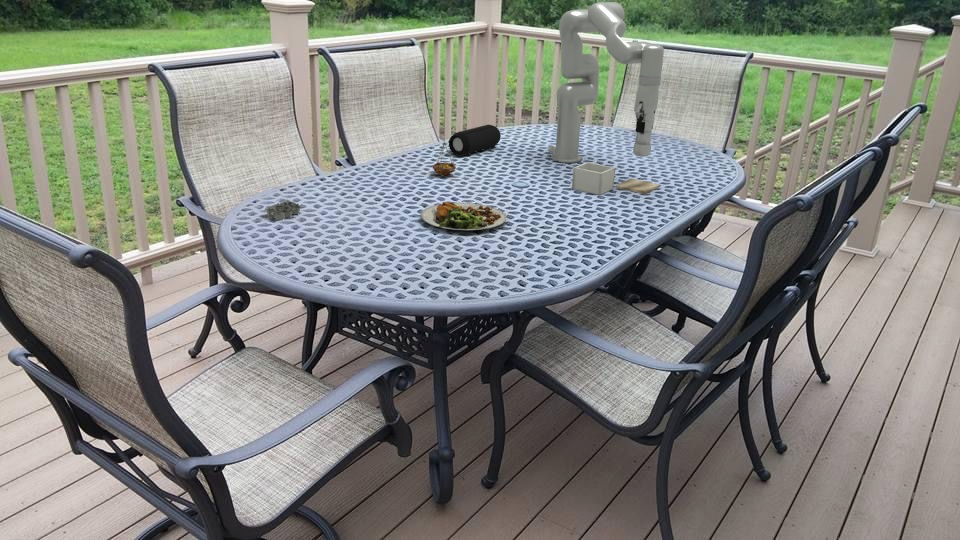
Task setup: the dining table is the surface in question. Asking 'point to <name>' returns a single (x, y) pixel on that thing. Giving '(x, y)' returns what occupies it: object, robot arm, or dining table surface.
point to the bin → (593, 178)
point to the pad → (637, 186)
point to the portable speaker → (474, 139)
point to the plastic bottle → (644, 137)
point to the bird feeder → (444, 167)
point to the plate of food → (463, 216)
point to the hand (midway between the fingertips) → (644, 130)
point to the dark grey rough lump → (283, 210)
